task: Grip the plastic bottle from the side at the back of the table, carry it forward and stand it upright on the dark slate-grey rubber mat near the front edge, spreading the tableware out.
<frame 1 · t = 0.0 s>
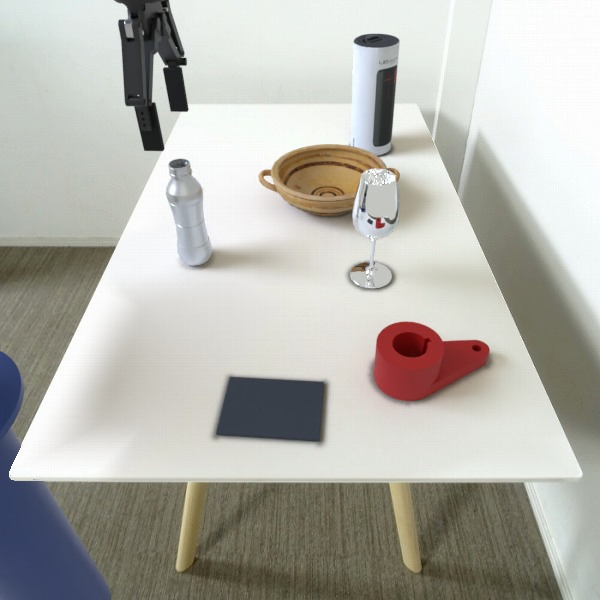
hand: (167, 129, 81), 29 cm above the table, tool pointing down, fingers open, 13 cm apart
ceramic bowl: (328, 203, 119), on the table
mat: (272, 408, 78), on the table
wineglass: (370, 276, 100), on the table
lever: (431, 370, 83), on the table
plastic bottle: (196, 260, 105), on the table
speaker: (369, 148, 139), on the table
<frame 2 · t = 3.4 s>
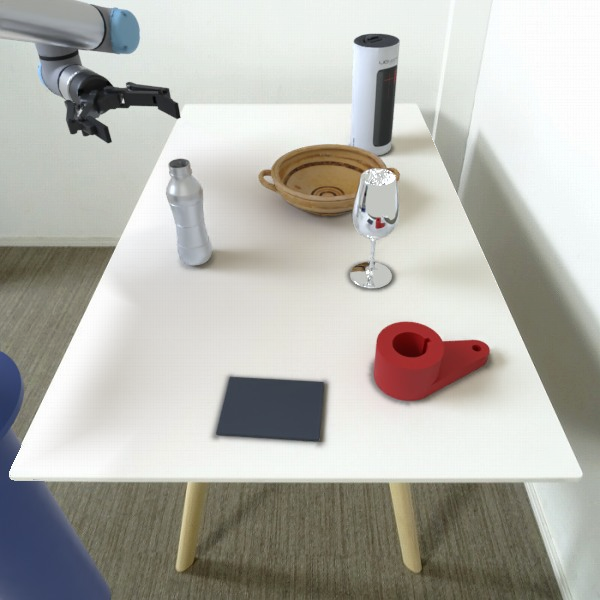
hand: (144, 122, 94), 24 cm above the table, tool horizontal, fingers open, 13 cm apart
nothing on the table moved.
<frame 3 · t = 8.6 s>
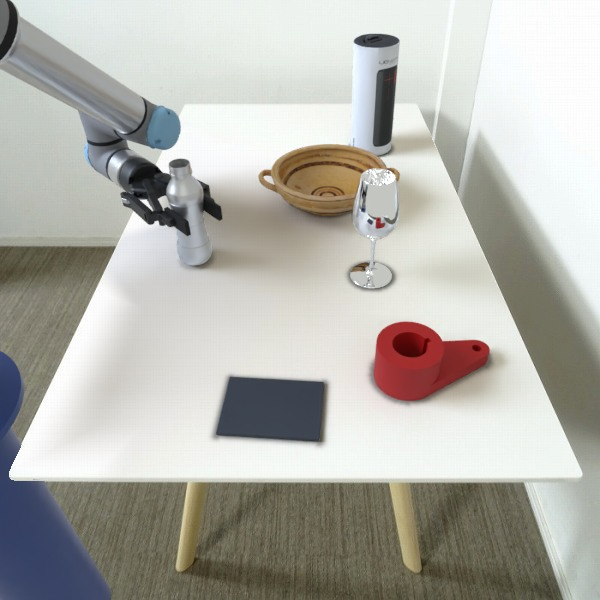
hand: (204, 221, 95), 11 cm above the table, tool horizontal, fingers closed on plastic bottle, 6 cm apart
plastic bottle: (196, 260, 105), on the table, touching gripper
everything else where it was.
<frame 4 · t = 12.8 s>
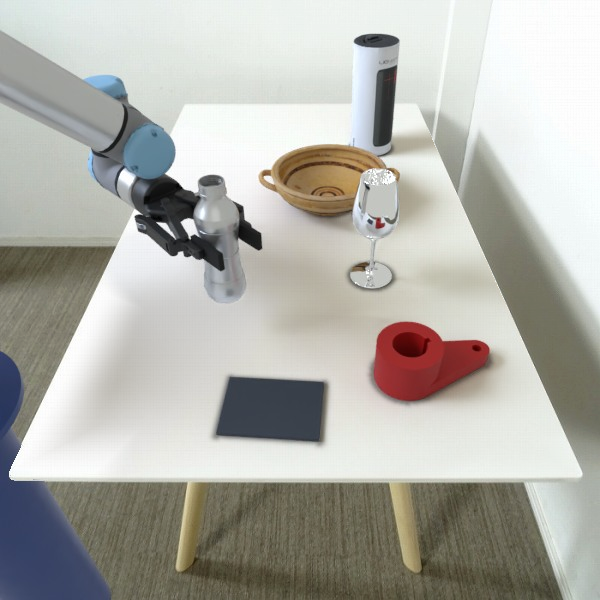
hand: (241, 251, 76), 18 cm above the table, tool horizontal, fingers closed on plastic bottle, 6 cm apart
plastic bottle: (227, 296, 86), point 7 cm above the table, touching gripper
everything else where it was.
when the fingers open (12 cm above the table, at t = 17.3 s): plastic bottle stays where it is, resting on mat.
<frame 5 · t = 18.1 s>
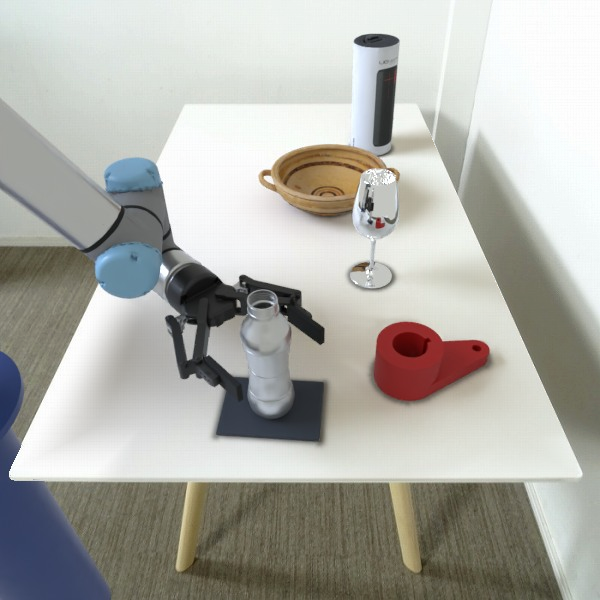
hand: (283, 363, 68), 12 cm above the table, tool horizontal, fingers open, 13 cm apart
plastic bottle: (272, 407, 78), resting on mat
everything else where it was.
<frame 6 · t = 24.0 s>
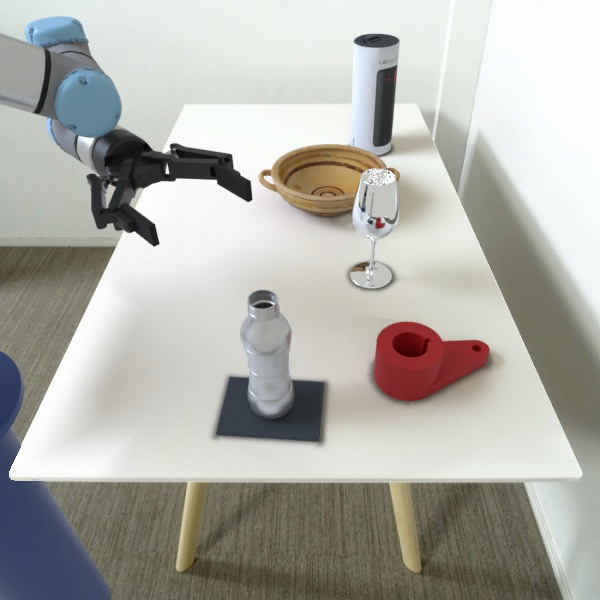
hand: (204, 212, 65), 28 cm above the table, tool horizontal, fingers open, 13 cm apart
nothing on the table moved.
at the end: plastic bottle inside the target area on the mat (0.0 cm from its centre), point 0.3 cm above the mat's base; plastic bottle tilted 0°; the gripper is holding nothing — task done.
